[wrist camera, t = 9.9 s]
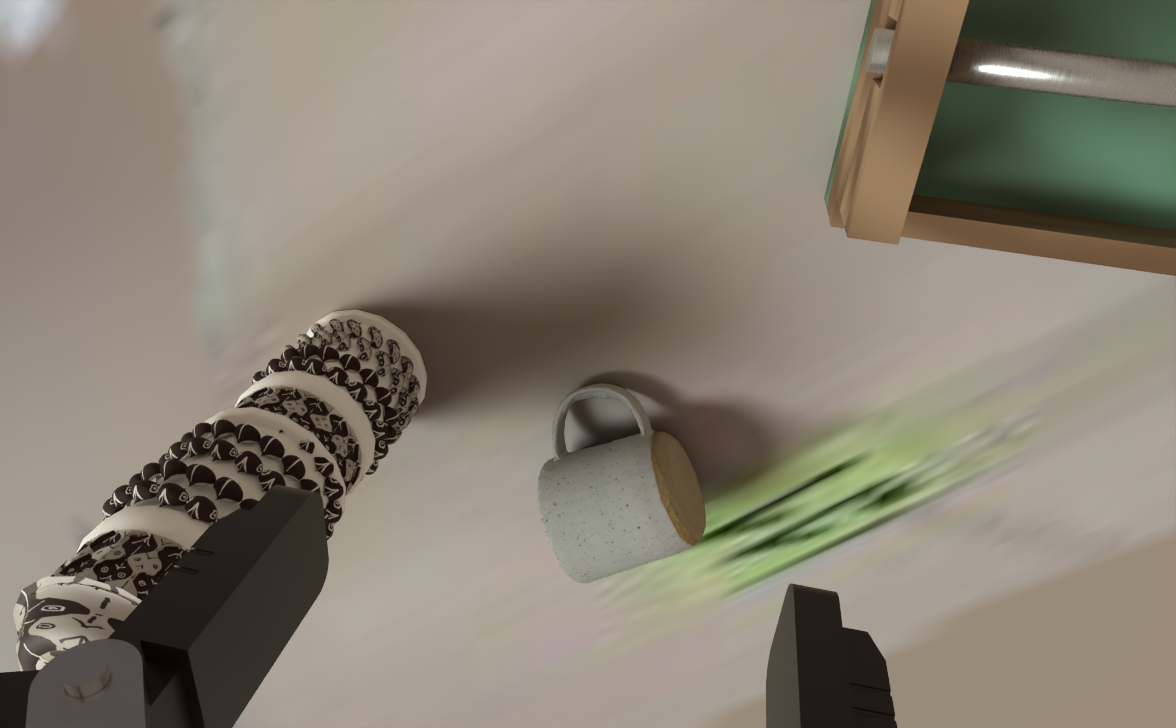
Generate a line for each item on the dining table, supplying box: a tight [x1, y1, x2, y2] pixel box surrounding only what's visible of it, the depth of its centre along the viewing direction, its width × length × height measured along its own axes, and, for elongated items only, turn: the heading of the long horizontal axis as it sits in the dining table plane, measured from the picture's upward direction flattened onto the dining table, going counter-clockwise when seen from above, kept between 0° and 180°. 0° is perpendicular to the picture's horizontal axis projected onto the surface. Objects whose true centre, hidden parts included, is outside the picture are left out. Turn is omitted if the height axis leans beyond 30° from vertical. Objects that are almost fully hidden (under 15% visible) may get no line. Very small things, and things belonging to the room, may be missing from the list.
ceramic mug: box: [538, 383, 706, 583], centre depth 48 cm, size 11×8×8 cm
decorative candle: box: [13, 309, 428, 671], centre depth 41 cm, size 9×9×25 cm
